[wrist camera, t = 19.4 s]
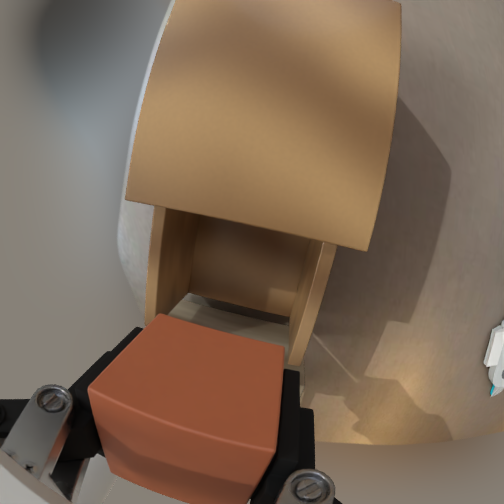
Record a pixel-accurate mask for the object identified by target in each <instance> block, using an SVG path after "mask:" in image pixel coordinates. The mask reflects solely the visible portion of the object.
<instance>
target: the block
mask: <svg viewBox="0 0 504 504" xmlns="http://www.w3.org/2000/svg"><path fill="white" fill-rule="evenodd" d="M284 356H285V347H284V346H281V345H276V344H272V343H267V342H263V341H259V340H255V339H251V338H246V337H242V336H238V335H235V334H231V333H227V332H223V331H219V330H216V329H212V328H208V327H205V326H201V325H198V324H194V323H191V322H188V321H184V320H181V319H178V318H174V317H171V316H168V315H165V314H162V313H160V314H158V315H157V316H156V317H155V318H154V319H153V320H152V321H151V322H150V323H149V324H148V325H147V326H146V327H145V328H144V329H143V330H142V331H141V332H140V333H139V334H138V335H137V336H136V337H135V338H134V339H133V340H132V342H131V343H130V344H129V345H128V346H127V347H126V348H125V349H124V350H123V351H122V352H121V353H120V354H119V355H118V356H117V357H116V358H115V359H114V360H113V361H112V362H111V363H110V364H109V365H108V366H107V367H106V368H105V369H104V371H103V372H102V373H101V374H100V375H99V376H98V377H97V378H96V379H95V380H94V381H93V382H92V383H91V384H90V385H89V386H88V395H89V399H90V404H91V408H92V412H93V416H94V420H95V424H96V428H97V431H98V435H99V438H100V442H101V445H102V448H103V451H104V454H105V457H106V460H107V463H108V466H109V469H110V472H111V473H113V474H115V475H117V476H119V477H121V478H124V479H126V480H128V481H130V482H132V483H135V484H137V485H139V486H142V487H145V488H147V489H149V490H152V491H154V492H157V493H160V494H162V495H165V496H168V497H171V498H174V499H177V500H180V501H183V502H187V503H190V504H247V503H248V501H249V499H250V498H251V496H252V494H253V492H254V491H255V489H256V487H257V485H258V484H259V482H260V480H261V478H262V476H263V475H264V473H265V471H266V469H267V467H268V465H269V463H270V462H271V460H272V458H273V456H274V454H275V452H276V446H277V437H278V427H279V417H280V406H281V394H282V383H283V370H284Z"/></svg>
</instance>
